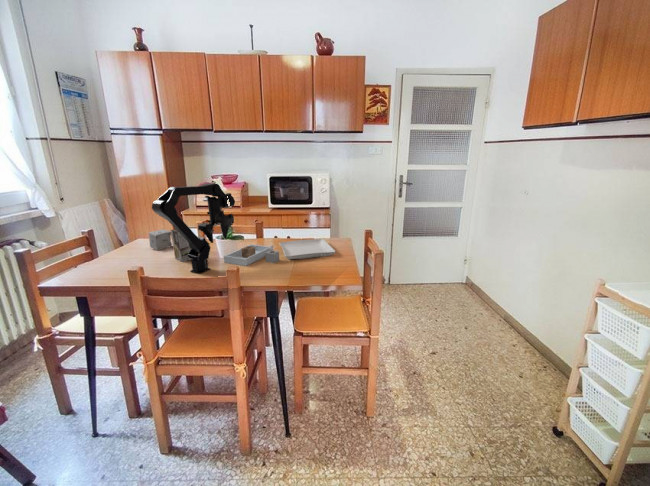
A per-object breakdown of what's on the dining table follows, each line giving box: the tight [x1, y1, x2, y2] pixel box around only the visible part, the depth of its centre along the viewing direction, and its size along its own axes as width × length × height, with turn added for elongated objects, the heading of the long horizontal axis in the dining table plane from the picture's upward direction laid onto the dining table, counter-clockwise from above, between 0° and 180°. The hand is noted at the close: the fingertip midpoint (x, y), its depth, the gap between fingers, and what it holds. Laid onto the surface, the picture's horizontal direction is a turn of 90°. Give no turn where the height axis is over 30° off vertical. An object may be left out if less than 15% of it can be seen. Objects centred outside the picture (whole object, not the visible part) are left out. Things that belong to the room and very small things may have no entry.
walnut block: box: [240, 245, 256, 258], centre depth 158 cm, size 5×5×5 cm
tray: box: [223, 244, 270, 267], centre depth 159 cm, size 22×14×4 cm, turn 156°
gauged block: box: [264, 244, 280, 264], centre depth 152 cm, size 5×5×8 cm
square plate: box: [278, 238, 337, 260], centre depth 167 cm, size 27×27×4 cm
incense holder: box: [148, 228, 173, 251], centre depth 179 cm, size 10×8×10 cm
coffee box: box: [169, 228, 192, 262], centre depth 158 cm, size 9×6×16 cm
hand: (218, 240), depth 149 cm, fingers open, 9 cm apart
